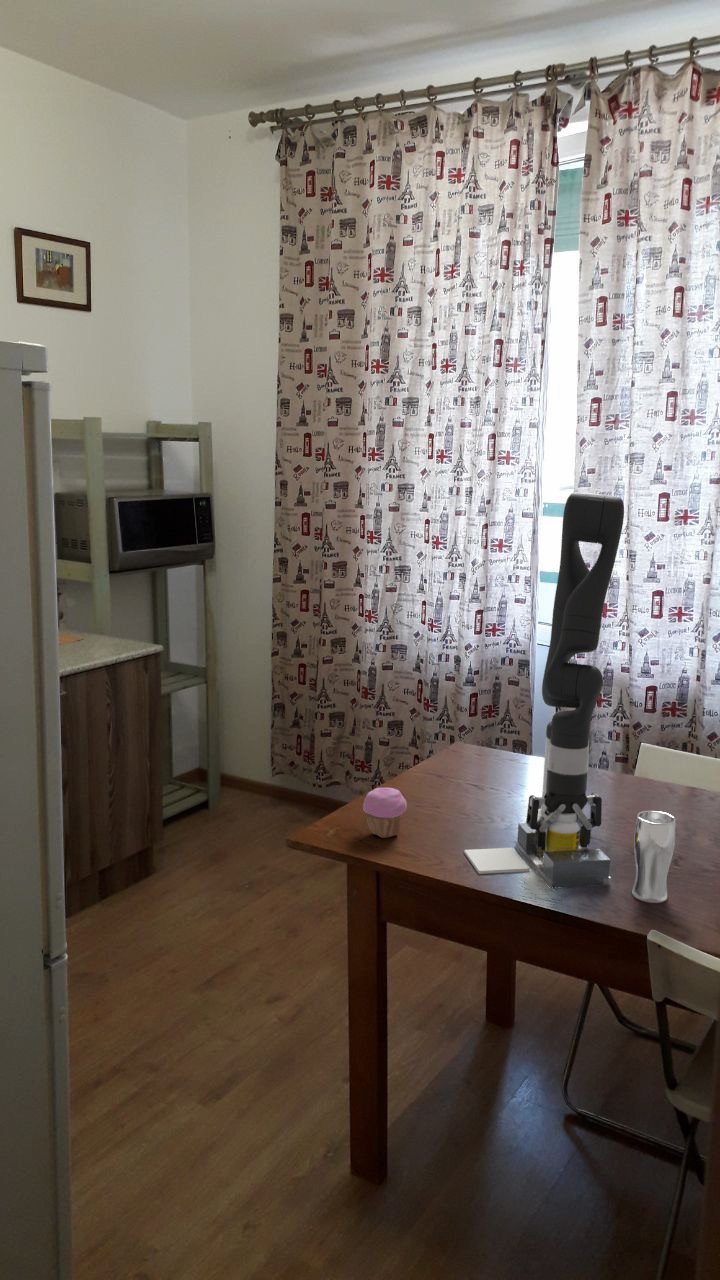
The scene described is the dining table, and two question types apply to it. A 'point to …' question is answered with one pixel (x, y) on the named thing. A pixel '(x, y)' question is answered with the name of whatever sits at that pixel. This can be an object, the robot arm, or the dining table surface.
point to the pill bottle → (563, 833)
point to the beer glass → (653, 854)
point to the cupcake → (384, 811)
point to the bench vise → (564, 862)
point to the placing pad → (496, 860)
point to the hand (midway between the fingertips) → (562, 847)
